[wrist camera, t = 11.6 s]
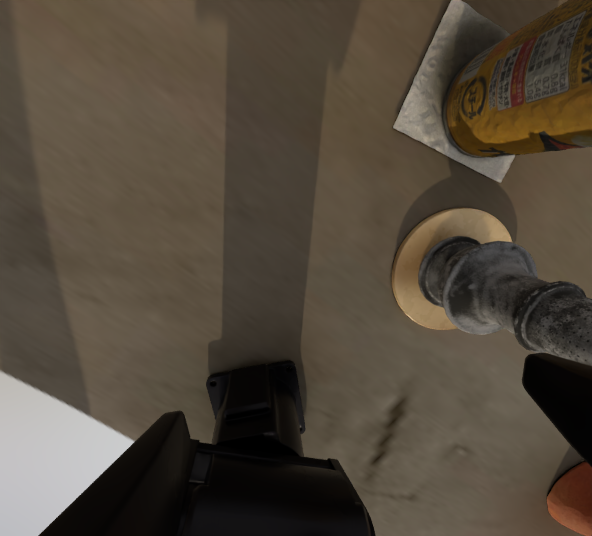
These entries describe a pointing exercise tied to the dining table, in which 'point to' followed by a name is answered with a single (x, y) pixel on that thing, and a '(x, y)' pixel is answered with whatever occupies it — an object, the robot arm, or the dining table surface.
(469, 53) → the condiment
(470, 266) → the grey carved stone piece
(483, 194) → the dining table surface
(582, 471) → the goblet
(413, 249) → the coaster
